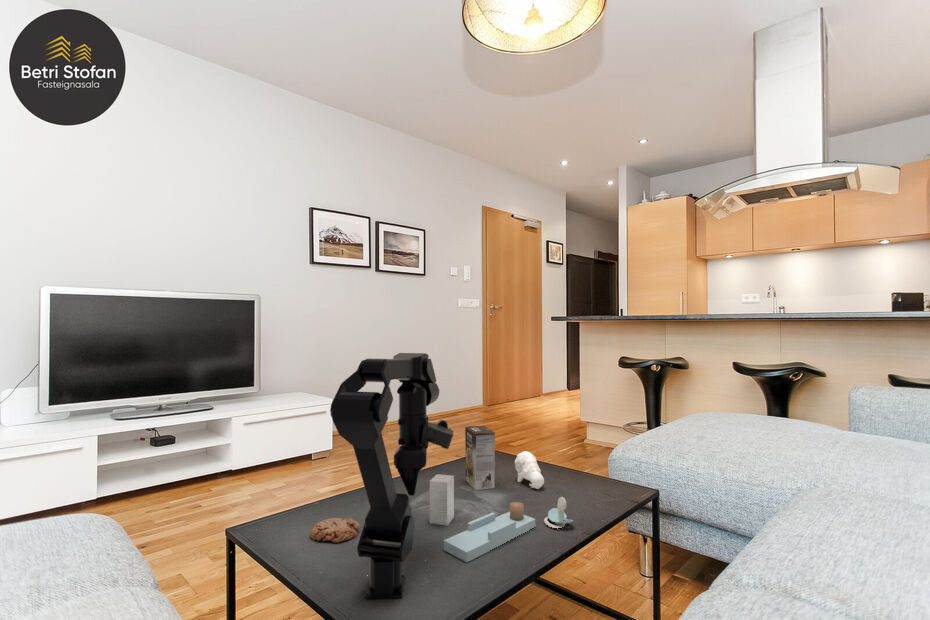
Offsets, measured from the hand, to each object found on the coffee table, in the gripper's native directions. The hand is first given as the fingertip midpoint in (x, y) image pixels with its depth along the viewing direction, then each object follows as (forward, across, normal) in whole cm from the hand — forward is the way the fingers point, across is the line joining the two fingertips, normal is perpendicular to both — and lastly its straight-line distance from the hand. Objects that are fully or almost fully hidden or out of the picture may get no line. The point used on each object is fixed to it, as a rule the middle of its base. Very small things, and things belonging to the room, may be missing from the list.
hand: (413, 486), depth 98 cm
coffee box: (+14, +38, -17) cm, 44 cm away
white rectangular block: (+13, +14, -6) cm, 20 cm away
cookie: (+14, +8, +18) cm, 24 cm away
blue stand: (+13, +4, -17) cm, 22 cm away
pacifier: (+14, +10, -33) cm, 37 cm away
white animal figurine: (+14, +37, -32) cm, 51 cm away
